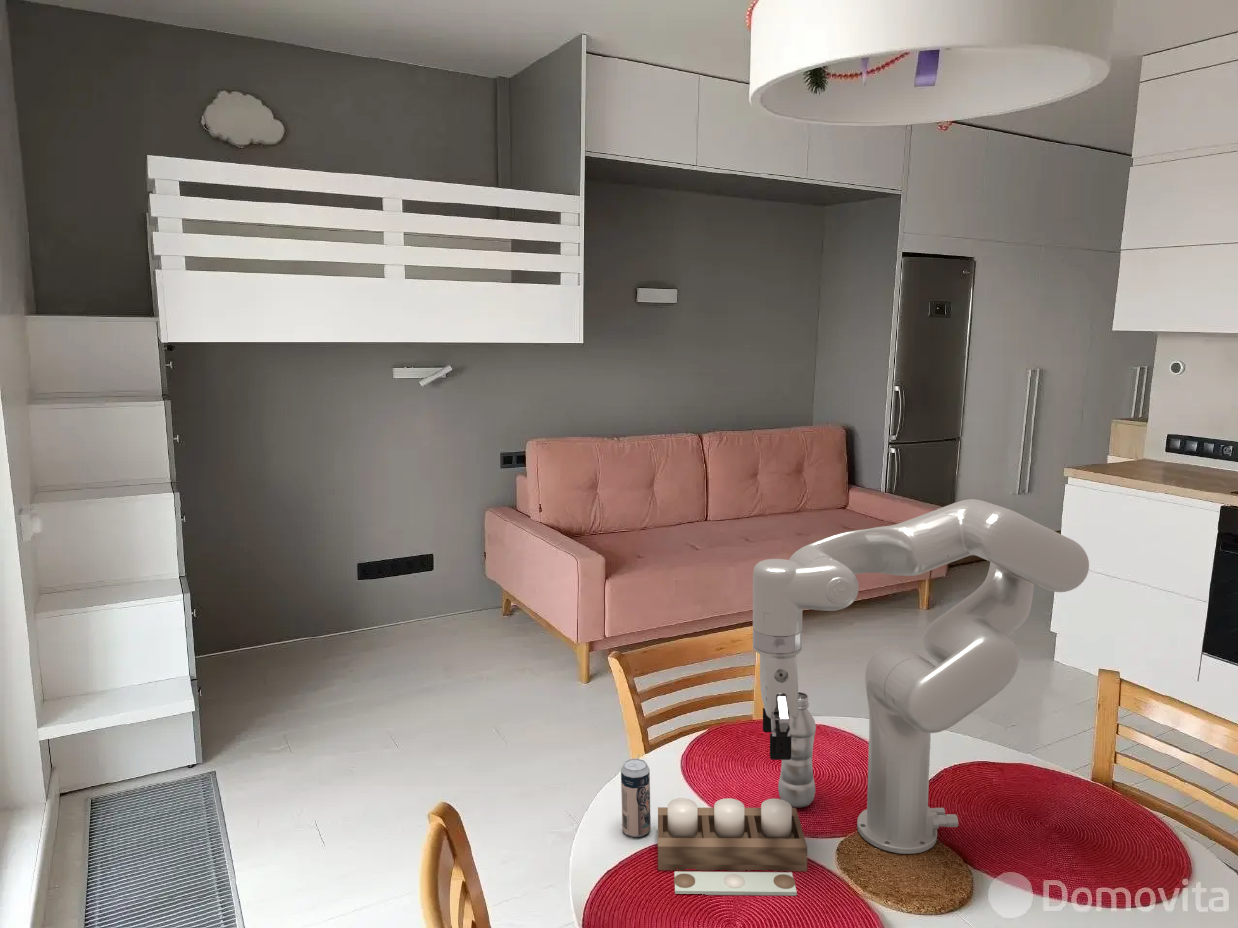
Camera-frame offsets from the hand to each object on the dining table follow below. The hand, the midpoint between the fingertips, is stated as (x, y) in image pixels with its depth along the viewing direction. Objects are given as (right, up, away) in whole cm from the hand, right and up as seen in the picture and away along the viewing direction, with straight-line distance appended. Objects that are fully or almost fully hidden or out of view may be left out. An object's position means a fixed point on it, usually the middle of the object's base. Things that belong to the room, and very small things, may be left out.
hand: (776, 744), depth 135 cm
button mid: (-7, -15, +3) cm, 17 cm away
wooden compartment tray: (-7, -18, +3) cm, 20 cm away
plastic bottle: (+7, -16, +16) cm, 24 cm away
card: (-7, -19, -6) cm, 22 cm away
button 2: (0, -15, +2) cm, 15 cm away
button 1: (-15, -15, +3) cm, 21 cm away
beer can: (-22, -18, +9) cm, 30 cm away
